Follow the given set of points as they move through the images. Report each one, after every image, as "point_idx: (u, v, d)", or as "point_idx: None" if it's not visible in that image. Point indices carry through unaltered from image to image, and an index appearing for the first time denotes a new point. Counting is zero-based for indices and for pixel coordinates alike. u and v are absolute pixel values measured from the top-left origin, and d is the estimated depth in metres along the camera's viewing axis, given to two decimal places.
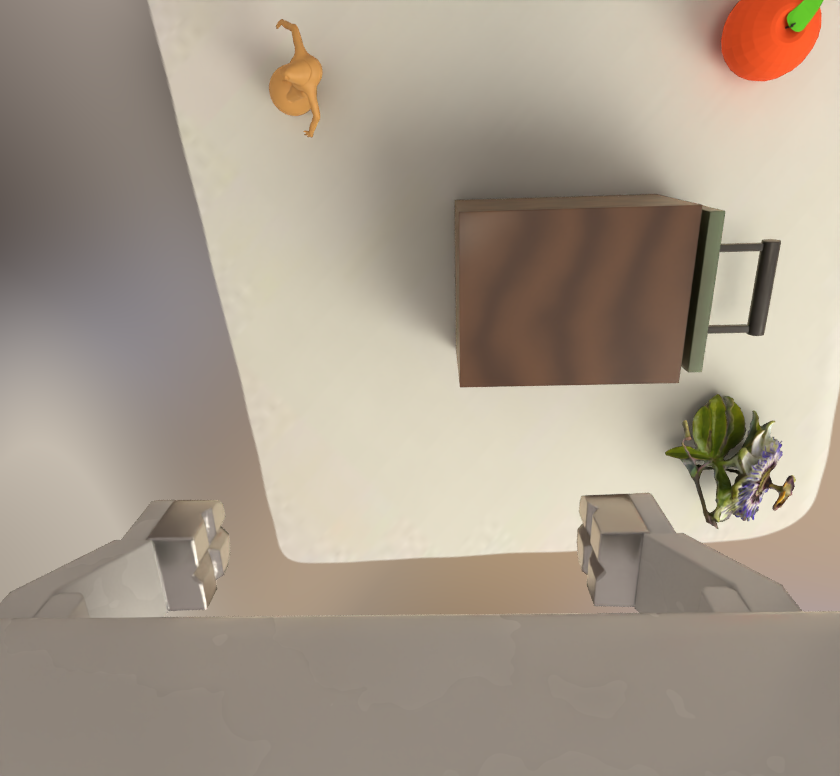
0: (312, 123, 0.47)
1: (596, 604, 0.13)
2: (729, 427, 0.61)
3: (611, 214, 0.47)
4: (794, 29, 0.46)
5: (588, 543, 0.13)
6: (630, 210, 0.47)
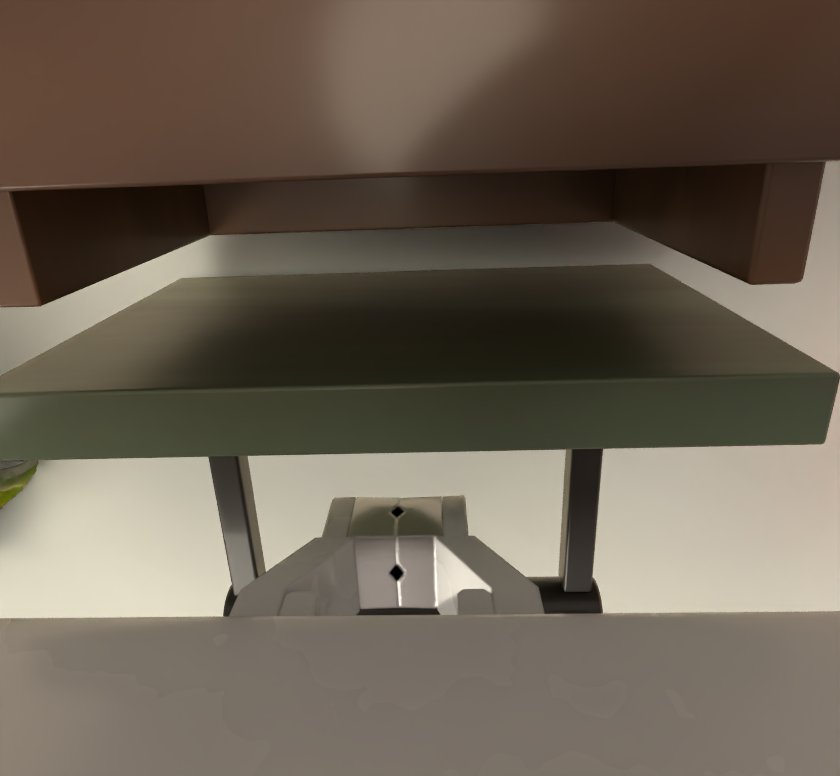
0: None
1: (401, 606, 0.13)
2: None
3: None
4: None
5: None
6: None
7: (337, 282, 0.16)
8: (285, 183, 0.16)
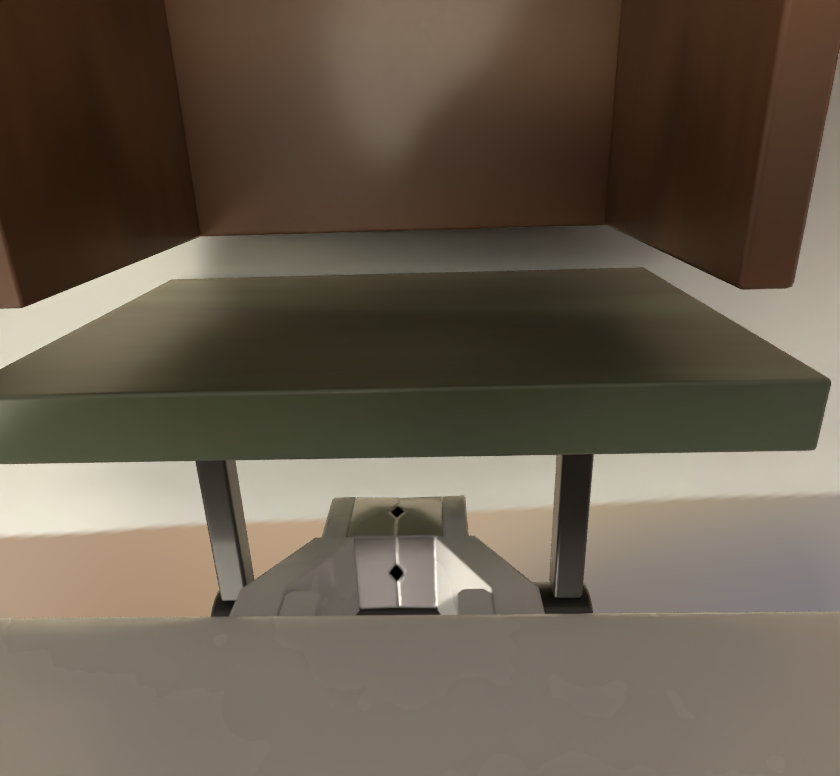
0: None
1: (401, 606, 0.13)
2: None
3: None
4: None
5: None
6: None
7: (328, 284, 0.16)
8: (276, 184, 0.16)
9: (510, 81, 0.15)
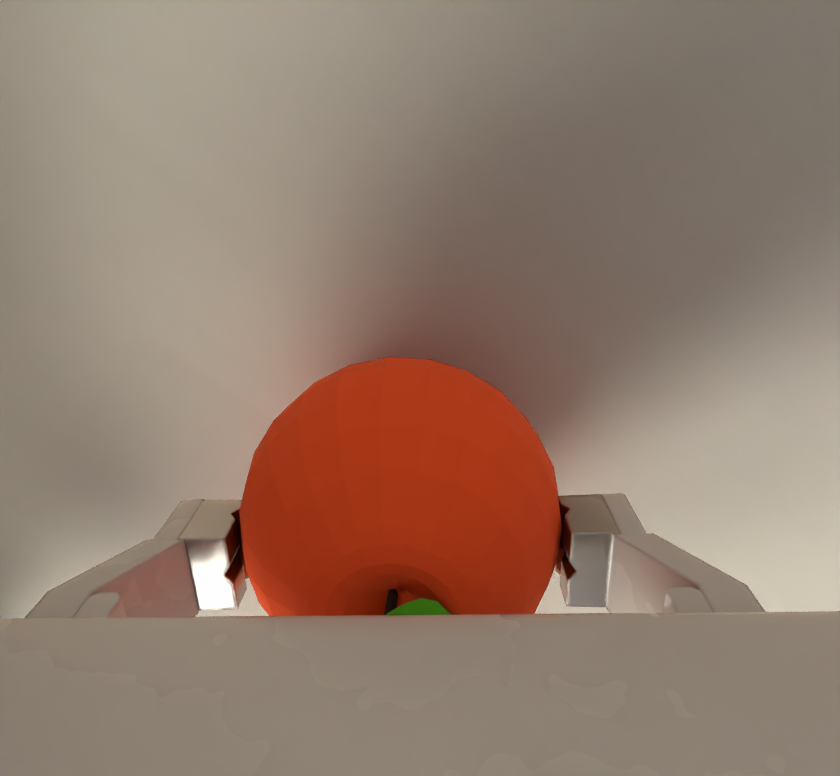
0: None
1: (568, 604, 0.13)
2: None
3: None
4: None
5: (561, 543, 0.13)
6: None
7: None
8: None
9: None
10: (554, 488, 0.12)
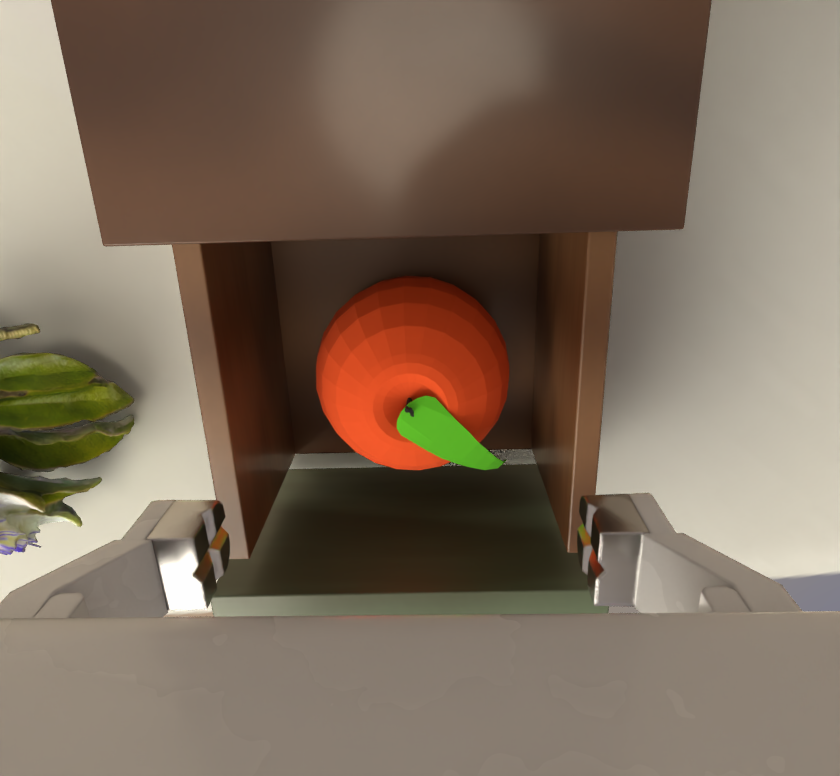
0: None
1: (596, 604, 0.13)
2: (45, 435, 0.25)
3: None
4: (401, 416, 0.19)
5: (588, 543, 0.13)
6: None
7: (370, 480, 0.28)
8: None
9: None
10: (504, 349, 0.21)
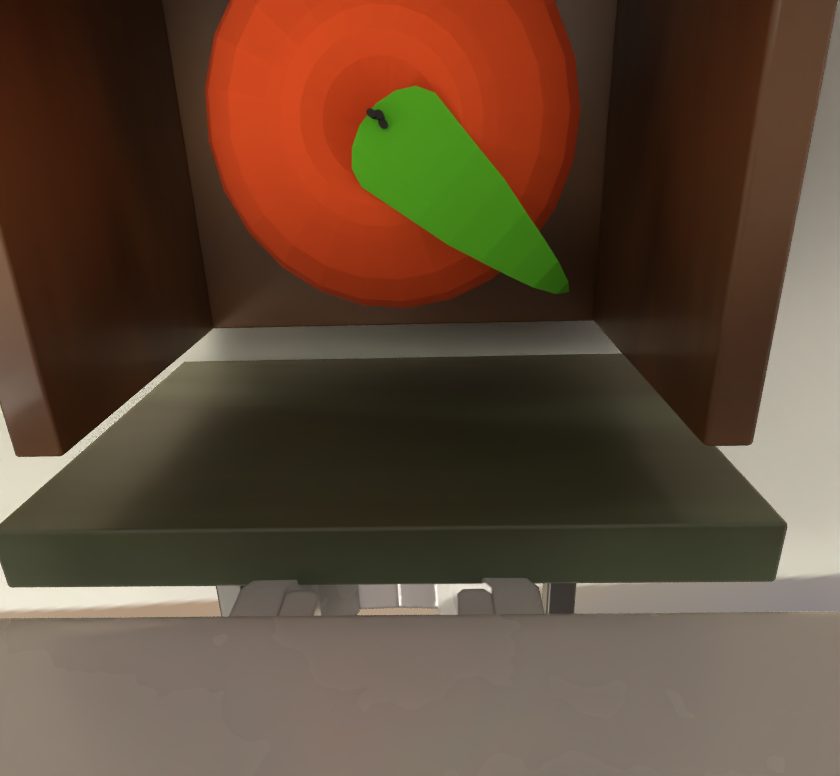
0: None
1: (401, 606, 0.13)
2: None
3: None
4: (360, 138, 0.09)
5: None
6: None
7: (333, 373, 0.17)
8: (284, 283, 0.17)
9: None
10: (573, 51, 0.11)
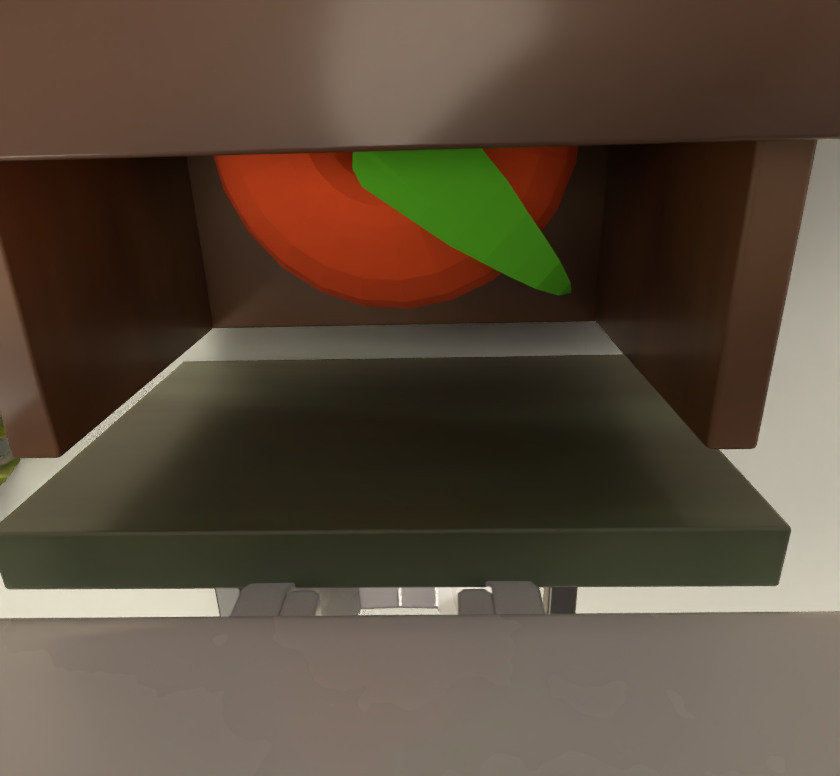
0: None
1: (401, 606, 0.13)
2: None
3: None
4: None
5: None
6: None
7: (333, 373, 0.17)
8: (285, 282, 0.17)
9: None
10: None
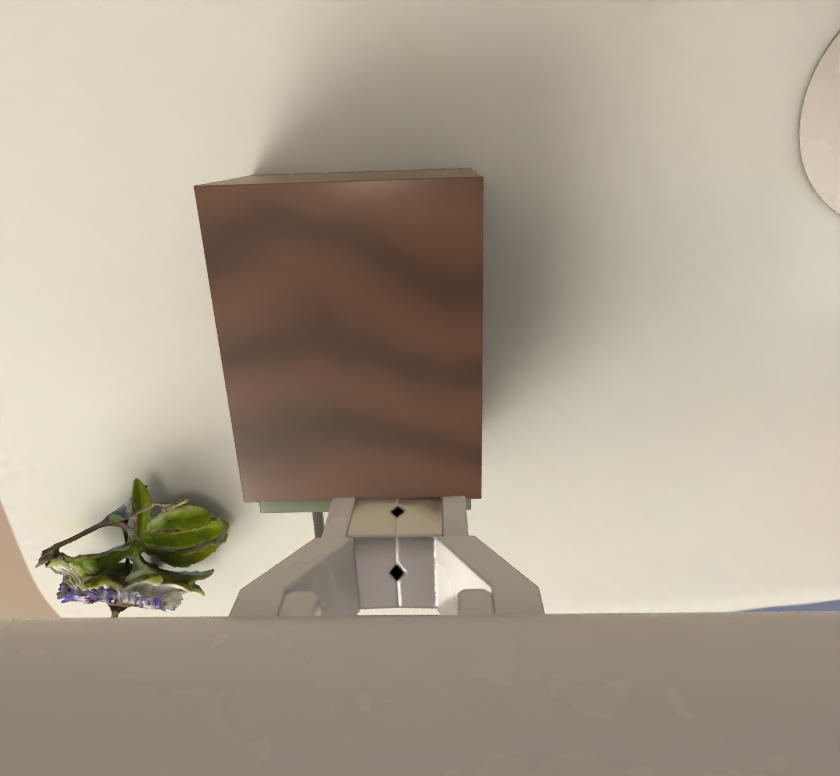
0: None
1: (401, 606, 0.13)
2: (187, 549, 0.48)
3: (472, 394, 0.35)
4: None
5: None
6: (477, 417, 0.35)
7: None
8: None
9: None
10: None
